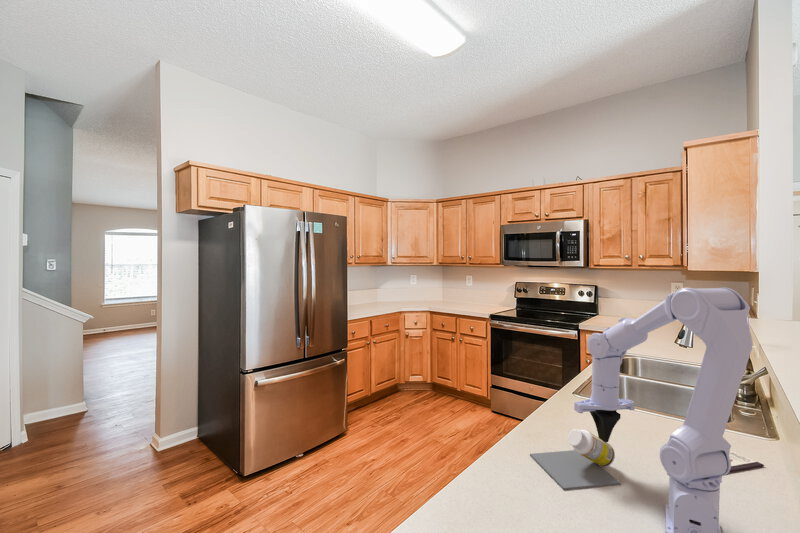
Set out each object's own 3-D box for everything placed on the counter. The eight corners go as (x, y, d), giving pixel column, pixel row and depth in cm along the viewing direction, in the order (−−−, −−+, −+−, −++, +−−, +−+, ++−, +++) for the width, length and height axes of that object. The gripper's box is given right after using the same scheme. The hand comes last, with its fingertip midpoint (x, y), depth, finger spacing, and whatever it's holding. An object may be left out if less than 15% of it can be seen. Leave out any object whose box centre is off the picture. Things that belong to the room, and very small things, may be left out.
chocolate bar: (668, 454, 92) (722, 446, 97) (668, 458, 92) (722, 449, 97) (706, 474, 84) (763, 464, 88) (706, 479, 84) (763, 468, 88)
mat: (579, 451, 94) (579, 449, 94) (620, 484, 80) (620, 482, 80) (529, 455, 92) (529, 453, 92) (563, 489, 78) (563, 488, 78)
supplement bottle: (591, 451, 92) (561, 433, 90) (609, 439, 89) (579, 420, 87) (601, 472, 87) (569, 454, 85) (620, 460, 84) (588, 441, 82)
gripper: (619, 377, 93) (618, 430, 93) (567, 379, 90) (565, 434, 91) (642, 387, 86) (640, 444, 86) (586, 389, 83) (584, 449, 84)
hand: (603, 440), depth 88 cm, fingers closed, pressing on supplement bottle
